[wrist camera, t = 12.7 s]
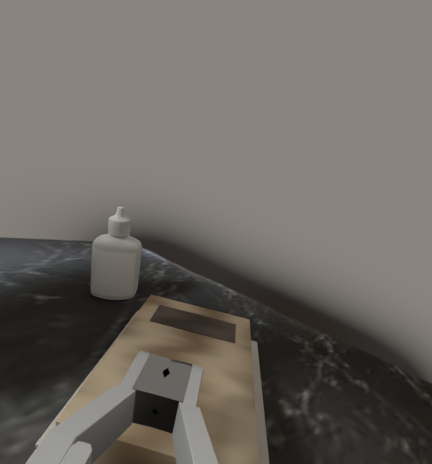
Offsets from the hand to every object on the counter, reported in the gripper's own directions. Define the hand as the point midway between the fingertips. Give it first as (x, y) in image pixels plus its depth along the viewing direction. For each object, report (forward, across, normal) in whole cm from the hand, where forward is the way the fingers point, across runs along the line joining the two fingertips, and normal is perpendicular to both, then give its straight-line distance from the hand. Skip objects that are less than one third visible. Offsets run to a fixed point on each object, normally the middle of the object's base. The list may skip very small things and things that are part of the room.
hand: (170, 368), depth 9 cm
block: (0, 0, +7) cm, 7 cm away
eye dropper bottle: (+16, +12, +10) cm, 22 cm away
